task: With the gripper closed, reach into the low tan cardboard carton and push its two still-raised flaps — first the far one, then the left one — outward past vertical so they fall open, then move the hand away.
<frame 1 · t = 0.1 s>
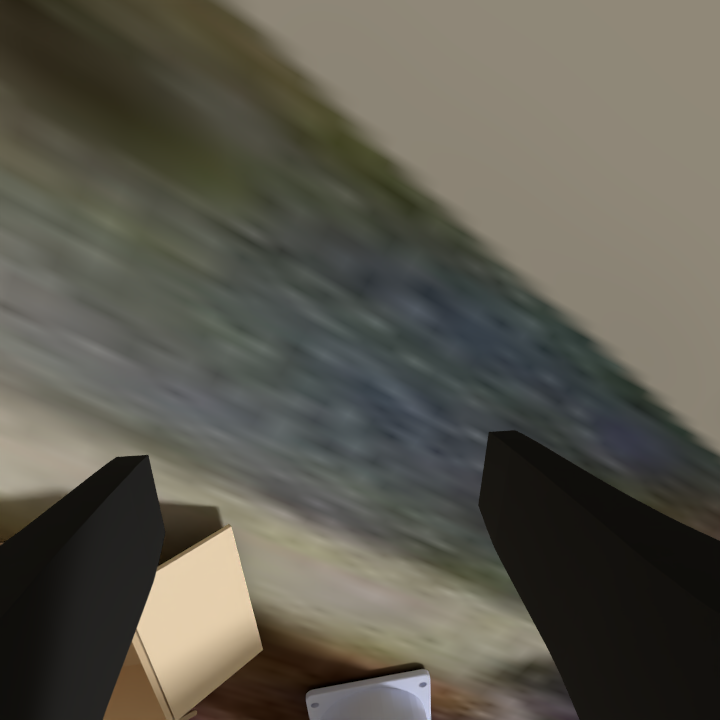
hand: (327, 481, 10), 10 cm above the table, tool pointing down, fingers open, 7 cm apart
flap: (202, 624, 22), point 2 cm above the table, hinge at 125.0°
carton: (69, 609, 23), on the table
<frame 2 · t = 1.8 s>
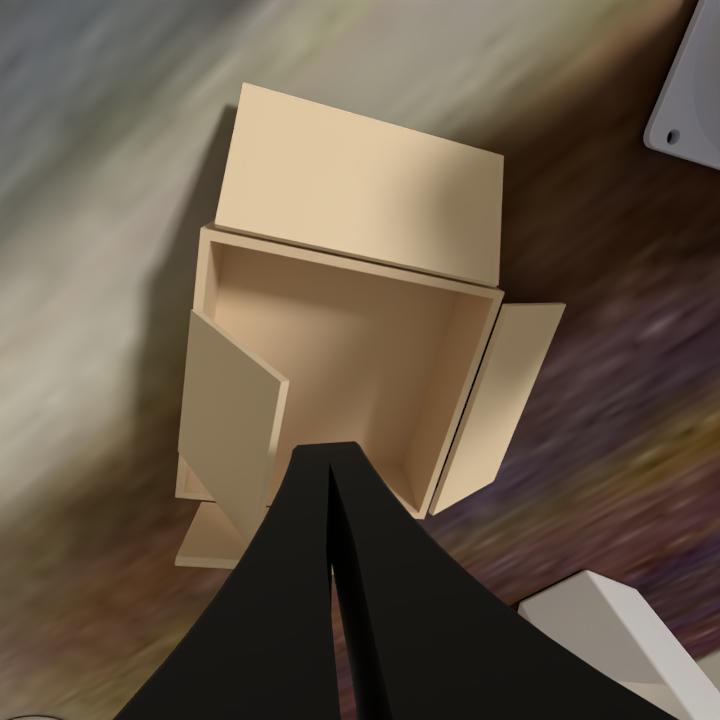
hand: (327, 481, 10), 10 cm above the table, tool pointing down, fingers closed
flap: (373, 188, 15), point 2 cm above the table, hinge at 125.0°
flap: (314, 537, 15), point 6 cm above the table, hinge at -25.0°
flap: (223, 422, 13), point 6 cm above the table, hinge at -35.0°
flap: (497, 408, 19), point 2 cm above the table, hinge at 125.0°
carton: (325, 361, 19), on the table
jar: (568, 615, 29), on the table
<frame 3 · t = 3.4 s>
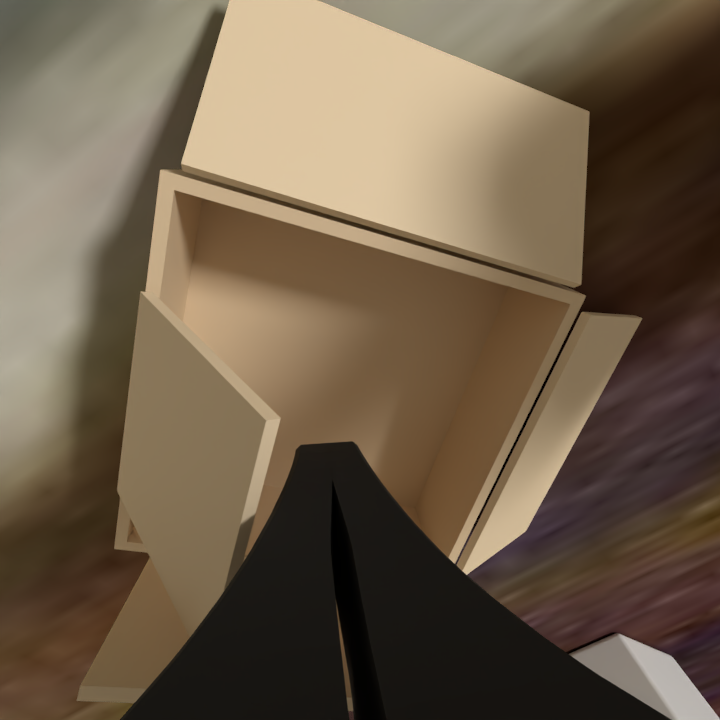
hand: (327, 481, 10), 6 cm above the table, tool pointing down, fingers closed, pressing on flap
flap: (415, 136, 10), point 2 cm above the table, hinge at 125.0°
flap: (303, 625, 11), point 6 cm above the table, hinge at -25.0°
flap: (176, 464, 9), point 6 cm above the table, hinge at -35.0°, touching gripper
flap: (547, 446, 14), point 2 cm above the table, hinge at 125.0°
carton: (329, 372, 15), on the table
jar: (590, 681, 25), on the table
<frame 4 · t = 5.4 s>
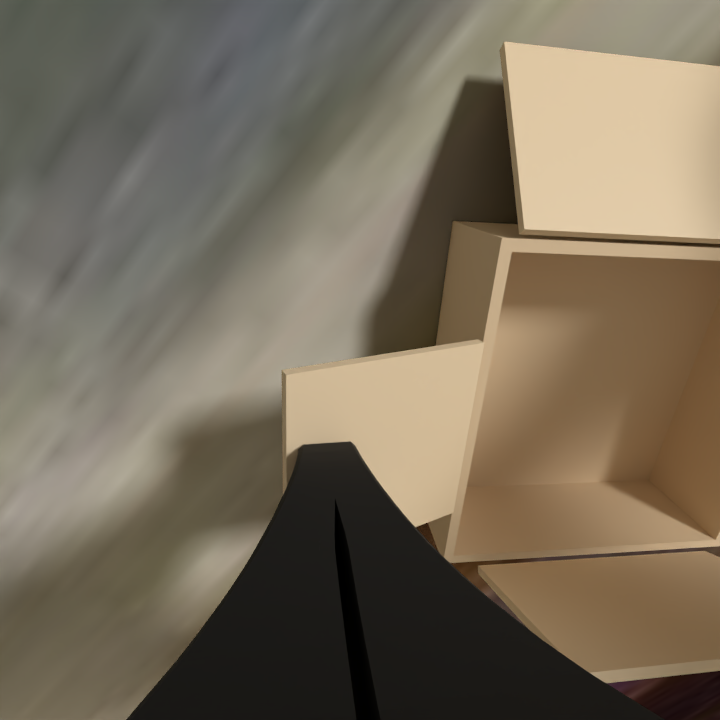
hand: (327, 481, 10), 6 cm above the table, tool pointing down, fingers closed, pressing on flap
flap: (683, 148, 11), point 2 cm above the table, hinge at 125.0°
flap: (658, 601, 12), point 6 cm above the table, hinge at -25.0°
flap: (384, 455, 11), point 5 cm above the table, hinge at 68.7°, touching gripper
carton: (566, 372, 16), on the table
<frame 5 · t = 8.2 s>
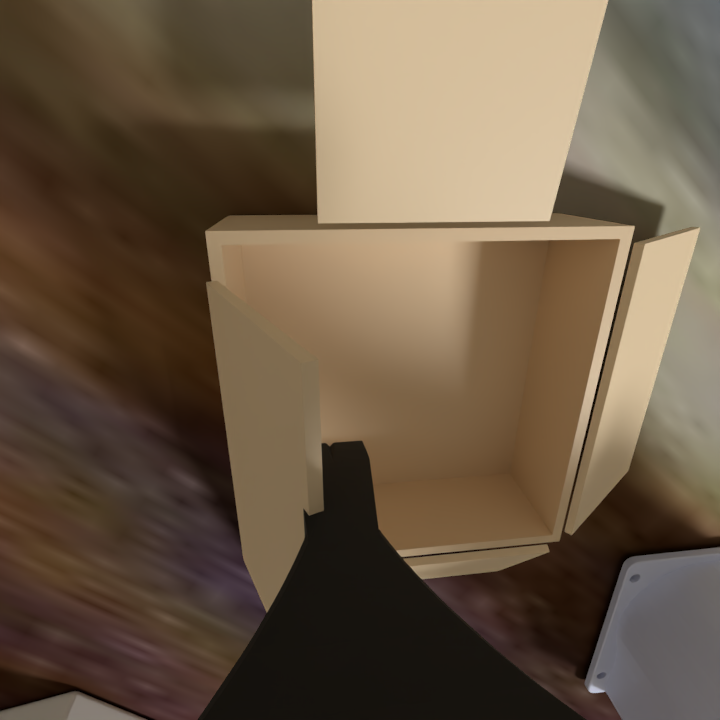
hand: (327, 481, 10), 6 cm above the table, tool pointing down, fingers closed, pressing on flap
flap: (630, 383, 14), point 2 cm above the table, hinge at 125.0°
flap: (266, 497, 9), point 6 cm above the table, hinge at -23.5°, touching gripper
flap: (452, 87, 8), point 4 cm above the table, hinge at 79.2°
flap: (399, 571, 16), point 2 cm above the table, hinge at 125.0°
carton: (394, 366, 15), on the table
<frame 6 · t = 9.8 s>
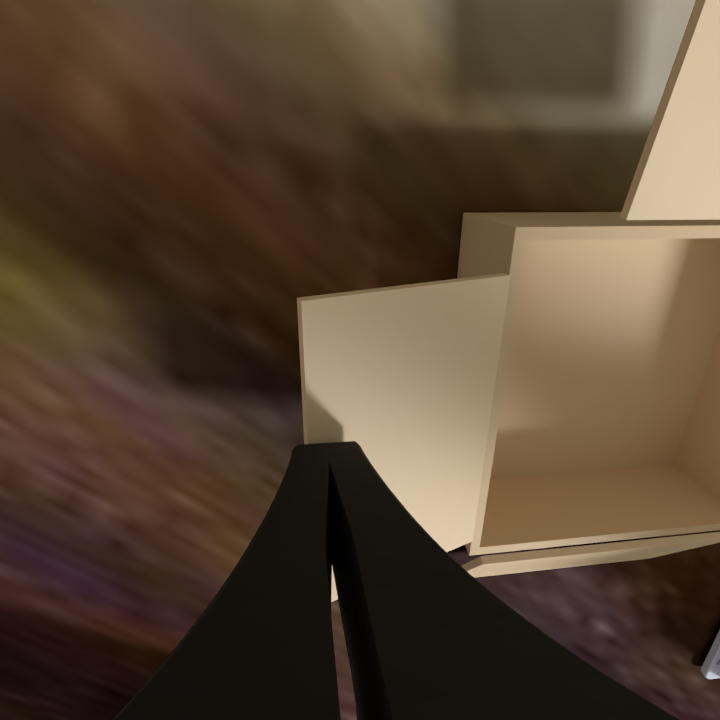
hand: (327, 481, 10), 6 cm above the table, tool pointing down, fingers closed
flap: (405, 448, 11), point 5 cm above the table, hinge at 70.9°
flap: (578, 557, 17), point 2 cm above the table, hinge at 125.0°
carton: (584, 359, 16), on the table
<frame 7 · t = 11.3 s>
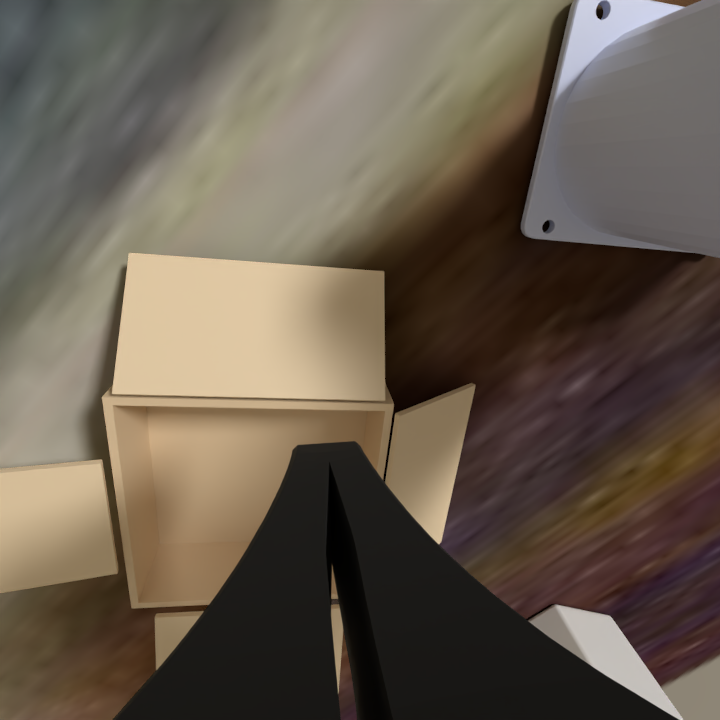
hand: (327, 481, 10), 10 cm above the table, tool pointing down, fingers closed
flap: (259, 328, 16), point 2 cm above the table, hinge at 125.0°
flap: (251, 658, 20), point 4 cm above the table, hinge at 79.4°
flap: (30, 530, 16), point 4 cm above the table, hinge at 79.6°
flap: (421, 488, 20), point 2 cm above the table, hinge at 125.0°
carton: (260, 459, 21), on the table
jar: (548, 645, 30), on the table
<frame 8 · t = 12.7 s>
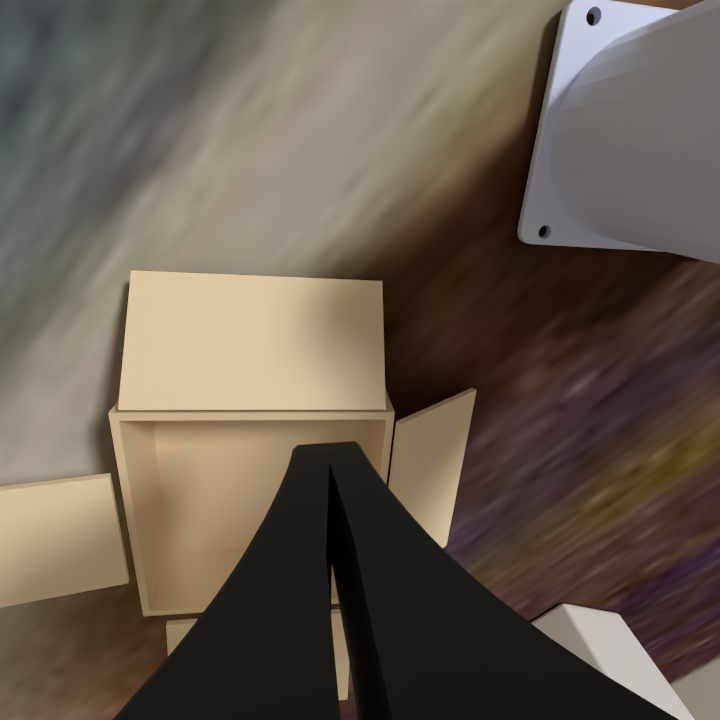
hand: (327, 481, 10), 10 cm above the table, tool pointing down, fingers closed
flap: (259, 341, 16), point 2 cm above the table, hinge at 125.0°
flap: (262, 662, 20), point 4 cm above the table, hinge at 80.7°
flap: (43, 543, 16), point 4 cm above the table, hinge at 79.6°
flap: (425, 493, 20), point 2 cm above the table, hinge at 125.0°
carton: (266, 467, 21), on the table
jar: (557, 643, 30), on the table
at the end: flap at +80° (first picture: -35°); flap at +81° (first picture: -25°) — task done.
